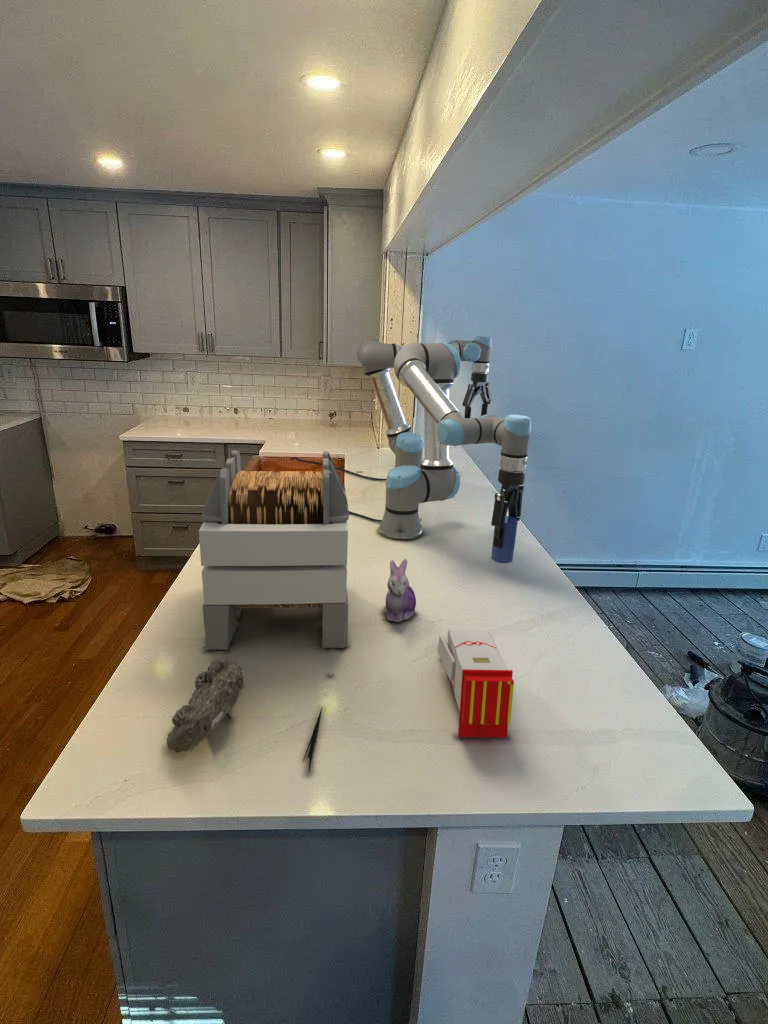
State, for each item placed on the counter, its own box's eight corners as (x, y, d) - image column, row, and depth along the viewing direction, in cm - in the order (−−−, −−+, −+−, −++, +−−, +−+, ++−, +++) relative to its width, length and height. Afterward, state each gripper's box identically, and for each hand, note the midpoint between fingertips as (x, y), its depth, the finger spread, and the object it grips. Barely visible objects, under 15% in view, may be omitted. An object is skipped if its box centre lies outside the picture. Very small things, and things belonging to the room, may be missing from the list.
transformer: (226, 583, 159) (217, 441, 145) (342, 582, 163) (345, 443, 149) (203, 652, 127) (189, 478, 114) (348, 648, 131) (352, 480, 117)
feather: (331, 679, 122) (336, 673, 122) (307, 777, 96) (313, 769, 95) (324, 675, 122) (329, 669, 121) (298, 772, 95) (304, 764, 95)
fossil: (192, 660, 117) (244, 628, 112) (224, 691, 120) (276, 661, 115) (142, 746, 98) (202, 712, 93) (182, 779, 101) (242, 748, 96)
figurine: (392, 627, 141) (395, 572, 136) (374, 608, 149) (376, 556, 144) (425, 619, 145) (429, 566, 140) (405, 601, 154) (408, 550, 149)
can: (516, 558, 173) (521, 519, 169) (506, 565, 168) (511, 524, 164) (497, 552, 177) (501, 514, 173) (487, 559, 172) (491, 519, 168)
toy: (488, 613, 130) (523, 677, 101) (484, 667, 133) (517, 744, 104) (435, 612, 130) (455, 676, 101) (432, 666, 133) (451, 743, 103)
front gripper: (507, 478, 154) (498, 556, 162) (539, 466, 168) (529, 538, 176) (483, 473, 158) (475, 549, 166) (516, 461, 173) (507, 531, 180)
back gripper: (471, 374, 243) (466, 424, 250) (501, 372, 260) (496, 418, 267) (457, 373, 247) (452, 421, 254) (488, 370, 265) (483, 415, 272)
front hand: (503, 543), depth 171 cm, fingers closed on can, 6 cm apart
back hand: (475, 419), depth 261 cm, fingers open, 13 cm apart
